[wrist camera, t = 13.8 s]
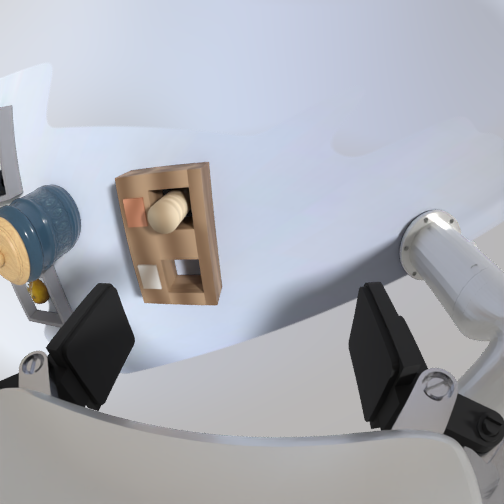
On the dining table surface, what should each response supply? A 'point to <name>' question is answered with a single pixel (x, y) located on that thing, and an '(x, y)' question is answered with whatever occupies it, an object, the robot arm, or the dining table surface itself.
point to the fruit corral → (56, 296)
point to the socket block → (171, 235)
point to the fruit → (38, 291)
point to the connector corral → (9, 155)
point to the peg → (170, 210)
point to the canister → (36, 232)
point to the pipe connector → (2, 184)
